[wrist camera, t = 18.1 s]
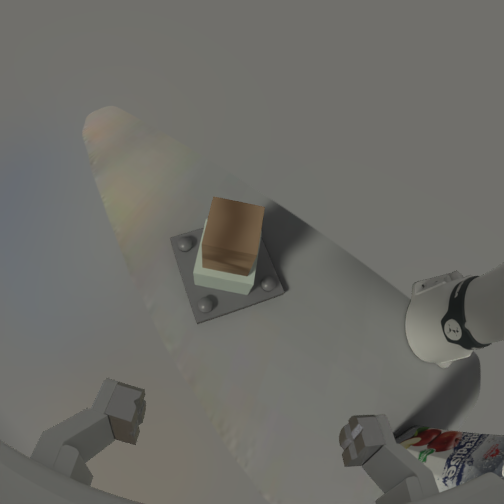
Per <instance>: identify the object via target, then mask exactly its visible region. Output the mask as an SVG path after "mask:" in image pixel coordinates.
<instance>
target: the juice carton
mask: <svg viewBox="0 0 504 504" xmlns="http://www.w3.org/2000/svg"><path fill="white" fill-rule="evenodd" d="M395 441H396V444H398V443H399V444H400V445H402V446H403V447H404V448H405V449H406V450H407V451H409V452H410V453H411V454H412V455H413V456H415V457H416V458H417V459H418V460H419V461H421V462H422V463H423V464H424V465H425V466H427V467H428V468H429V469H430V470H431V471H432V473H433V475H434V478H435V481H436V484H437V487H438V490H439V493H440V492H443V491H445V490H448V489H451V488H453V487H456V486H458V485H461V484H463V483H465V482H468V481H470V480H472V479H475V478H477V477H479V476H481V475H483V474H485V473H488V472H493V473H494V474H496V475H498V476H499V477H501V478H502V479H503V480H504V435H489V434H477V433H467V432H458V431H450V430H443V429H436V428H429V427H423V426H413V427H412V428H410V429H409V430H407V431H406V432H404V433H403V434H402V435H400V436H399V437H397V438H395Z"/></svg>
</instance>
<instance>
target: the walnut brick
mask: <svg viewBox="0 0 504 504" xmlns="http://www.w3.org/2000/svg"><path fill="white" fill-rule="evenodd" d="M264 209H265V207H262V206H257V205H252V204H248V203H243V202H238V201H233V200H228V199H223V198H218V197H213V200H212V204H211V208H210V212H209V216H208V220H207V224H206V228H205V232H204V236H203V240H202V268H207V269H212V270H217V271H222V272H227V273H232V274H237V275H242V276H248V274H249V272H250V270H251V268H252V265H253V263H254V261H255V259H256V257H257V253H258V247H259V241H260V234H261V228H262V222H263V216H264Z"/></svg>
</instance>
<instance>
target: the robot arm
mask: <svg viewBox="0 0 504 504" xmlns="http://www.w3.org/2000/svg"><path fill="white" fill-rule="evenodd" d="M422 287H423V288H422ZM405 328H406V335H407V339H408V342H409V345H410V347H411V349H412V350H413V352H414V353H415V355H416V356H417V357H419V358H420V359H421V360H423V361H426V362H432V363H436V364H437V365H439V366H440V367H441V368H447V367H449V366H450V364H451V363H452V362H453V361H454V360H458V359H462V358H466V357H469V356H470V355H471V353H472V352H473V351H474V349H481V348H484V347H486V346H488V345H490V344H491V343H493V342H498V341H502V340H504V262H503V263H502V264H500V265H499V266H498V267H496V268H494V269H493V270H491V271H489V272H487V273H485V274H483V275H481V276H471V275H469V276H466V277H463V276H462V275H461V274H460V273H459V272H458V271H454V272H452V273H449V274H446V275H442V276H438V277H434V278H430V279H426V280H422V281H418V282H415V283H414V284H413V286H412V299H411V302H410V304H409V307H408V310H407V314H406V321H405ZM144 397H145V390H144V389H141V388H138V387H134V386H131V385H128V384H125V383H122V382H118V381H115V380H112V379H109V378H106V380H105V381H104V382H103V384H102V386H101V388H100V391H99V393H98V395H97V397H96V399H95V401H94V403H93V405H92V407H91V409H88V408H86V409H85V410H83V411H81V412H79V413H77V414H76V415H74V416H72V417H70V418H68V419H66V420H65V421H63V422H61V423H59V424H57V425H55V426H53V427H52V428H50V429H48V430H46V431H44V432H43V433H42V435H41V437H40V439H39V441H38V443H37V445H36V447H35V449H34V451H33V453H32V455H31V457H30V458H29V457H28V456H26V455H24V454H22V453H21V452H19V451H17V450H16V449H14V448H12V447H11V446H9V445H8V444H6V443H4V442H3V441H1V440H0V504H143V503H139V502H136V501H132V500H129V499H126V498H122V497H119V496H116V495H113V494H110V493H107V492H104V491H102V490H99V489H96V488H93V487H91V486H90V485H91V482H92V479H93V475H92V473H91V472H90V470H89V469H88V467H87V466H86V464H85V463H86V462H87V461H88V460H90V459H91V458H93V457H94V456H95V455H96V454H98V453H99V452H100V451H102V450H103V449H104V448H105V447H107V446H108V445H110V444H111V443H112V442H113V441H115V439H116V440H119V441H122V442H126V443H130V444H133V445H136V442H137V438H138V436H139V432H140V430H139V425H140V424H141V423H142V422H143V419H144V415H145V410H146V401H145V400H144ZM348 421H349V424H347V425H345V426H344V427H343V428H342V429H341V431H340V435H339V443H340V446H341V447H342V448H343V449H344V451H343V453H342V457H343V462H344V467H351V466H362V468H363V469H364V470H365V471H366V472H367V474H368V475H369V476H370V477H371V478H372V479H373V481H374V482H375V483H376V484H377V485H378V486H379V488H380V489H381V490H382V491H383V492H384V493H385V494H384V495H382V496H381V497H379V498H378V499H377V500H376V501H375V502H376V504H504V480H503V479H502V478H501V477H499V476H498V475H496V474H494V473H493V472H488V473H485V474H483V475H481V476H479V477H477V478H475V479H472V480H470V481H468V482H465V483H463V484H461V485H458V486H456V487H453V488H451V489H448V490H445V491H443V492H440V493H439V490H438V487H437V484H436V481H435V478H434V475H433V473H432V471H431V470H430V469H429V468H428V467H427V466H425V465H424V464H423V463H422V462H421V461H419V460H418V459H417V458H416V457H415V456H413V455H412V454H411V453H410V452H409V451H407V450H406V449H405V448H404V447H403V446H402V445H400V444H399V443H398V444H396V441H395V438H394V435H393V432H392V430H391V427H390V424H389V422H388V419H387V417H386V416H385V415H356V416H352V417H351V418H350V419H349V420H348Z"/></svg>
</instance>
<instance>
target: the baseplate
mask: <svg viewBox="0 0 504 504" xmlns="http://www.w3.org/2000/svg"><path fill="white" fill-rule="evenodd" d="M207 220H208V219H206V221H205V225H204V228H202V229H198V230H195V231H191V232H188V233H185V234H181V235H178V236H175V237H171V238H170V240H171V244H172V247H173V250H174V254H175V257H176V260H177V264H178V267H179V270H180V273H181V277H182V280H183V283H184V286H185V289H186V292H187V295H188V298H189V301H190V304H191V307H192V310H193V313H194V316H195V319H196V322H197V324H199V323H202V322H205V321H208V320H211V319H214V318H217V317H220V316H223V315H226V314H229V313H232V312H235V311H238V310H241V309H244V308H246V307H249V306H252V305H255V304H258V303H261V302H263V301H266V300H269V299H272V298H275V297H277V296H280V295H282V294H283V293H285V292H284V290H283V288H282V285H281V283H280V280H279V278H278V276H277V273H276V271H275V268H274V266H273V263H272V261H271V259H270V256H269V254H268V251H267V249H266V247H265V244H264V242H263V239H262V237H261V234H262V230H261V234H260V241H259V247H258V253H257V257H256V259H255V261H254V263H253V265H252V268H251V270H250V272H249V274H248V276H242V275H237V274H232V273H227V272H222V271H217V270H212V269H207V268H202V240H203V236H204V232H205V228H206V224H207Z"/></svg>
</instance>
